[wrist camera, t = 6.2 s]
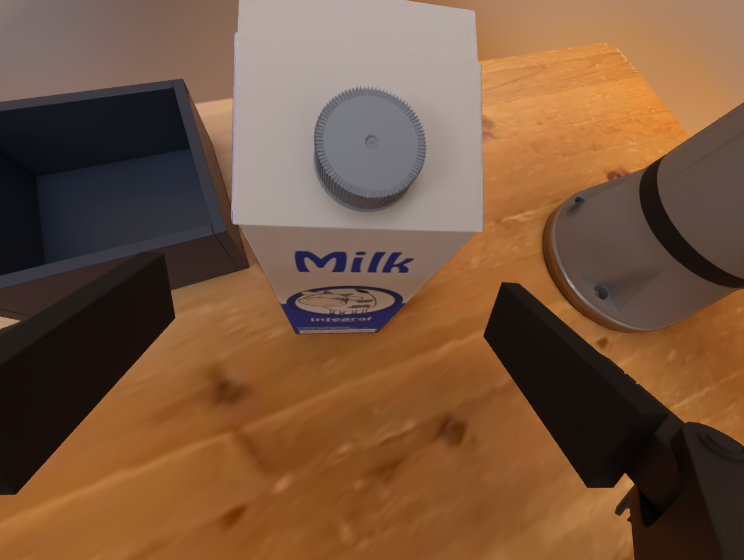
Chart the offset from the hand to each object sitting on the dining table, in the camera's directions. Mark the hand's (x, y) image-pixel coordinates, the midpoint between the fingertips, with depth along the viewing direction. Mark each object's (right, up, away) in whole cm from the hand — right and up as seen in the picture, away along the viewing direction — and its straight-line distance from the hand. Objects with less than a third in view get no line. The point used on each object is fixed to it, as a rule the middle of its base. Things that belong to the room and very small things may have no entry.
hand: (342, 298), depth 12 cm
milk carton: (-2, -1, +14) cm, 14 cm away
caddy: (-18, +6, +14) cm, 24 cm away
